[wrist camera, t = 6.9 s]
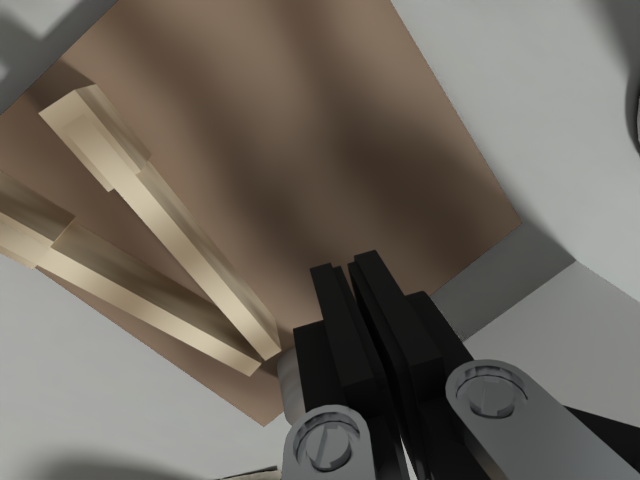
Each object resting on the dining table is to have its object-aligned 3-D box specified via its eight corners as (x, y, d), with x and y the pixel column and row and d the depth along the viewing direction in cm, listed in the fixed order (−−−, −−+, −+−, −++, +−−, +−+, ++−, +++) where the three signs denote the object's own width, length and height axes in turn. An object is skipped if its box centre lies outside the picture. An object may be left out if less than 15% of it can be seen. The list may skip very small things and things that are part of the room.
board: (286, -157, 17) (290, -168, 16) (512, 217, 27) (522, 223, 26) (-63, 183, 19) (-77, 190, 18) (262, 415, 29) (263, 426, 28)
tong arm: (279, 315, 25) (286, 347, 22) (256, 330, 25) (260, 363, 22) (96, 84, 18) (74, 89, 15) (65, 104, 18) (38, 113, 15)
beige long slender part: (337, 358, 27) (352, 400, 24) (304, 392, 27) (315, 437, 24) (6, 155, 18) (-39, 177, 15) (-31, 210, 19) (-83, 242, 16)
